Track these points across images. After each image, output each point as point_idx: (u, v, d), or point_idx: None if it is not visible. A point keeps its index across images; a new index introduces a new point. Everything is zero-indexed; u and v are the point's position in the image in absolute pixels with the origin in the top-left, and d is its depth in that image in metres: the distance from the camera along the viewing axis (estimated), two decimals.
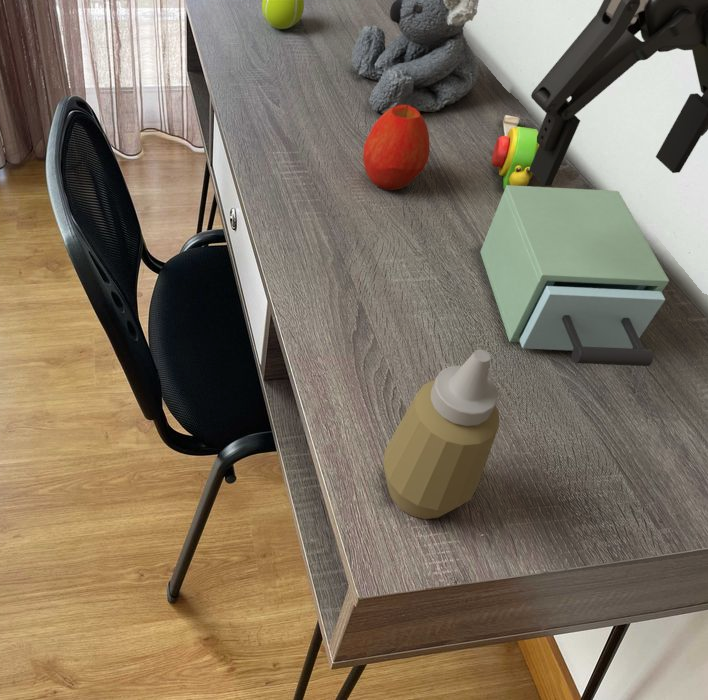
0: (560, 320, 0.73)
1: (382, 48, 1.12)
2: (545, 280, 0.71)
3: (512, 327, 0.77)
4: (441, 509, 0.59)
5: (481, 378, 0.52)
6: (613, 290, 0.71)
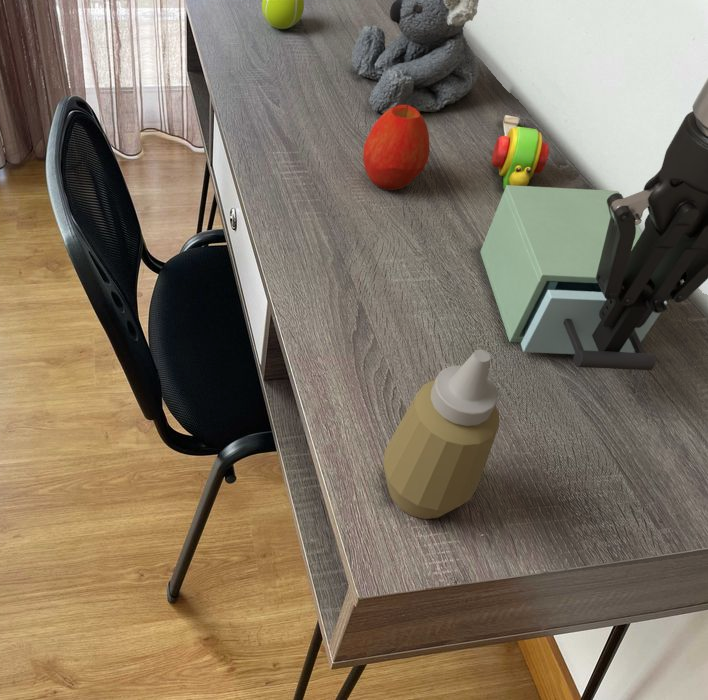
0: (561, 324, 0.72)
1: (382, 48, 1.12)
2: (545, 280, 0.71)
3: (512, 327, 0.77)
4: (441, 509, 0.59)
5: (481, 378, 0.52)
6: None
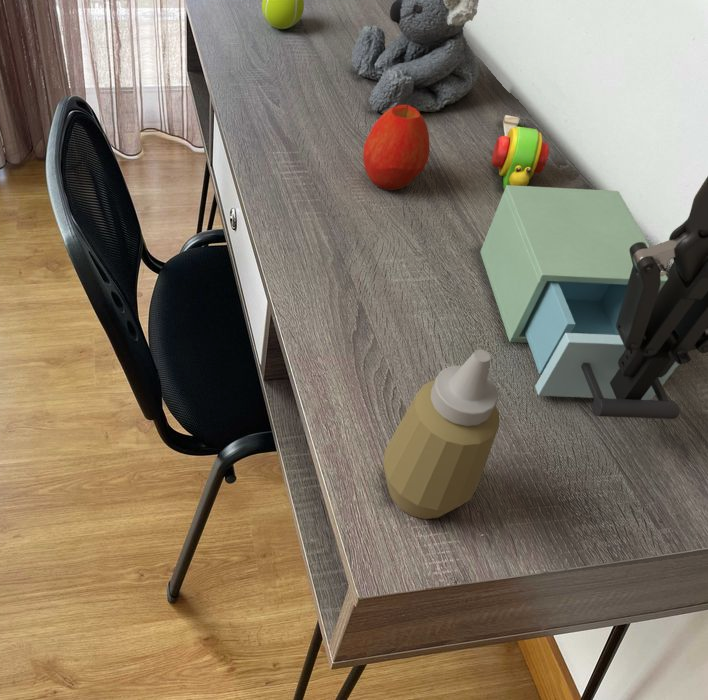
0: (579, 368, 0.69)
1: (382, 48, 1.12)
2: (545, 280, 0.71)
3: (512, 327, 0.77)
4: (441, 509, 0.59)
5: (481, 378, 0.52)
6: None
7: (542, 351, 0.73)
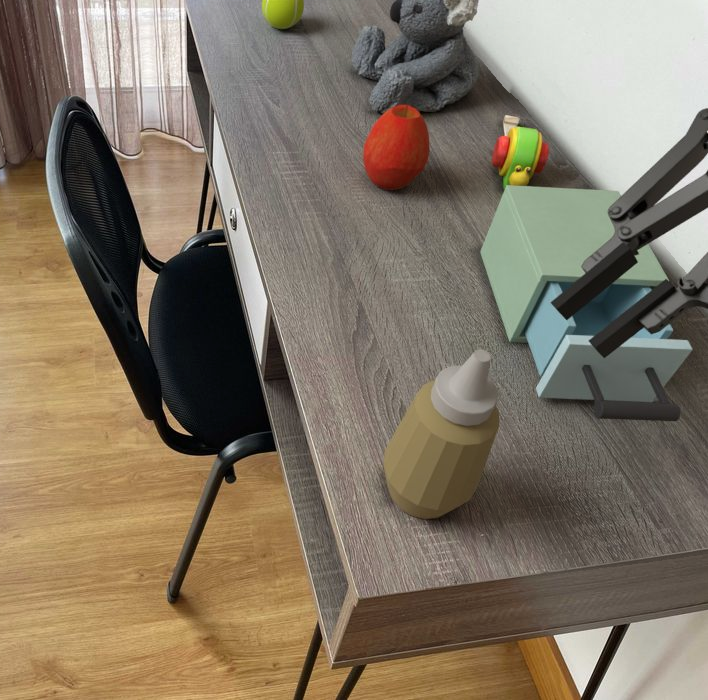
0: (580, 370, 0.68)
1: (382, 48, 1.12)
2: (545, 280, 0.71)
3: (512, 327, 0.77)
4: (441, 509, 0.59)
5: (481, 378, 0.52)
6: (637, 339, 0.67)
7: (543, 353, 0.73)
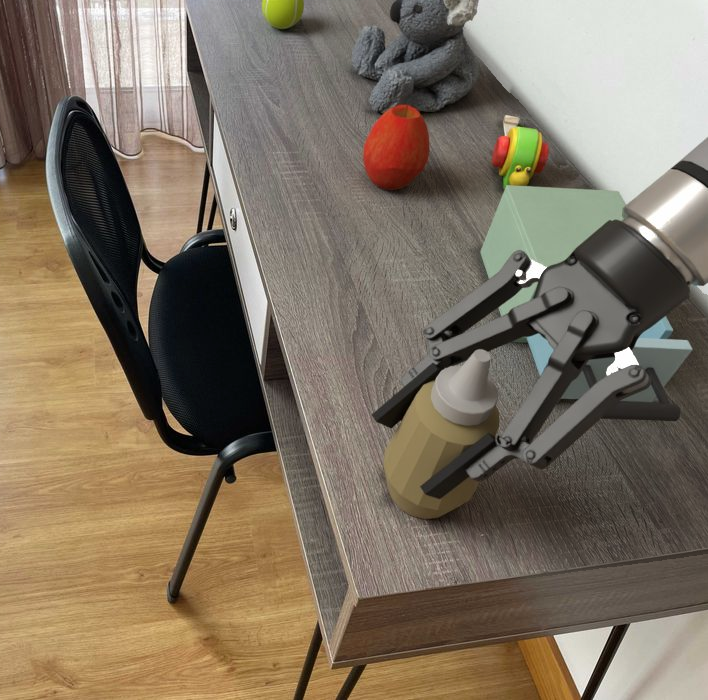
0: None
1: (382, 48, 1.12)
2: None
3: None
4: (441, 509, 0.59)
5: (481, 378, 0.52)
6: None
7: (543, 353, 0.73)
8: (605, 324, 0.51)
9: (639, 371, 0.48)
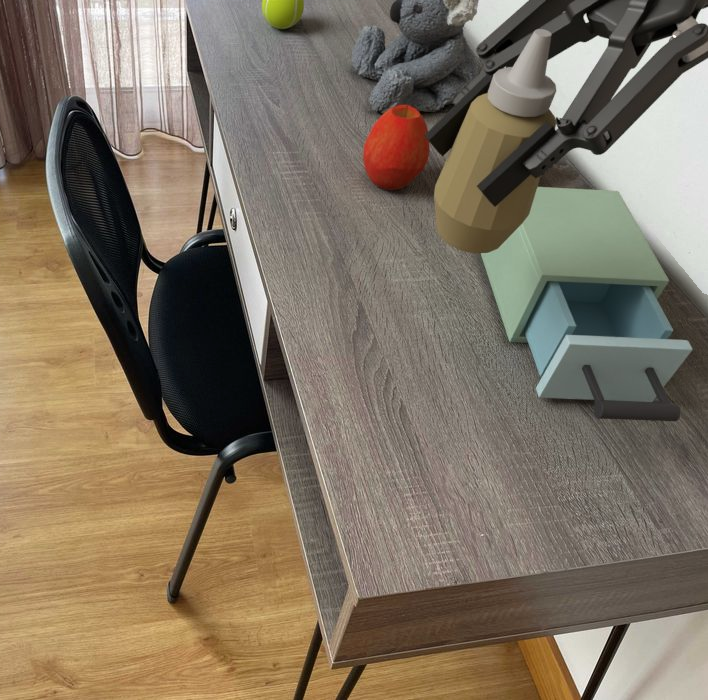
0: (580, 370, 0.68)
1: (382, 48, 1.12)
2: (545, 280, 0.71)
3: (512, 327, 0.77)
4: (494, 229, 0.60)
5: (541, 59, 0.52)
6: (637, 339, 0.67)
7: (543, 353, 0.73)
8: None
9: (703, 28, 0.48)
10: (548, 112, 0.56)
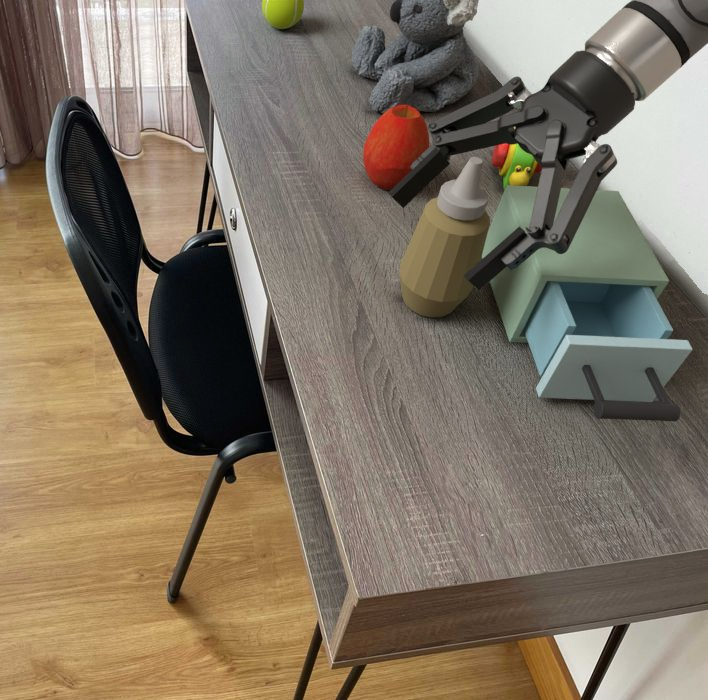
0: (580, 370, 0.68)
1: (382, 48, 1.12)
2: (545, 280, 0.71)
3: (512, 327, 0.77)
4: (445, 301, 0.76)
5: (475, 179, 0.68)
6: (637, 339, 0.67)
7: (543, 353, 0.73)
8: (568, 132, 0.67)
9: (607, 147, 0.64)
10: (484, 214, 0.72)
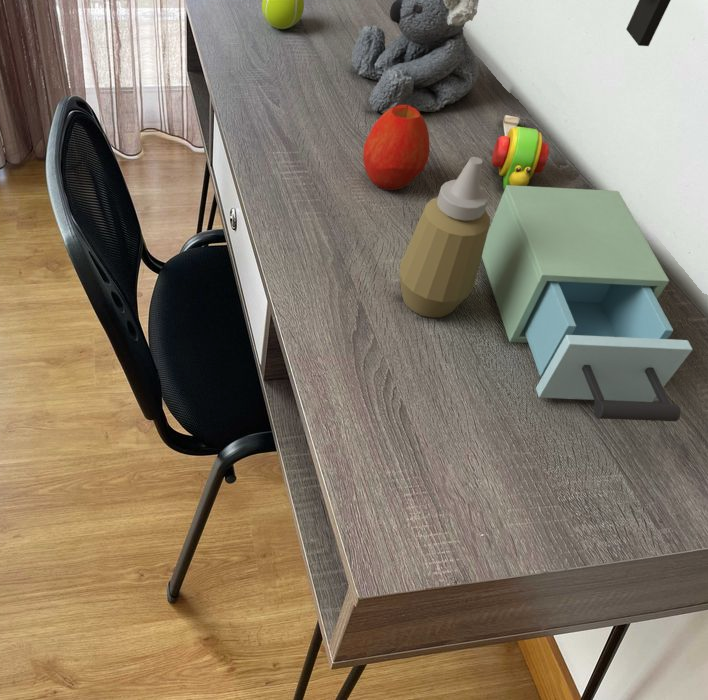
0: (580, 370, 0.68)
1: (382, 48, 1.12)
2: (545, 280, 0.71)
3: (512, 327, 0.77)
4: (445, 301, 0.76)
5: (475, 179, 0.68)
6: (637, 339, 0.67)
7: (543, 353, 0.73)
8: None
9: None
10: (484, 214, 0.72)
